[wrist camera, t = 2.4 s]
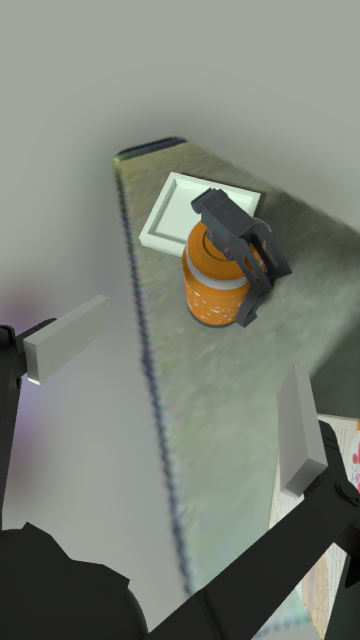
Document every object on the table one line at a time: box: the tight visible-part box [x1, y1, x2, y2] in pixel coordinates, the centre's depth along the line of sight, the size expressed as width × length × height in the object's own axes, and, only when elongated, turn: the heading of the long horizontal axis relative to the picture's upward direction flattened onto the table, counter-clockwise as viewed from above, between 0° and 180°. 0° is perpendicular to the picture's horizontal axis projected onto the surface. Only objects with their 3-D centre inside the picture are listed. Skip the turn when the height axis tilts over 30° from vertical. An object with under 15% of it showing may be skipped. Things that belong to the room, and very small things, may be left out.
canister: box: [182, 187, 292, 328], centre depth 29 cm, size 9×11×20 cm
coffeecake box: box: [269, 413, 360, 640], centre depth 22 cm, size 15×7×20 cm, turn 166°
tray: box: [139, 172, 261, 258], centre depth 42 cm, size 16×14×2 cm
